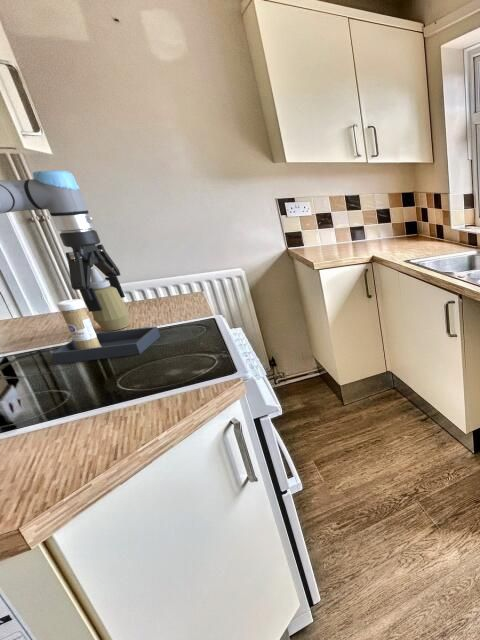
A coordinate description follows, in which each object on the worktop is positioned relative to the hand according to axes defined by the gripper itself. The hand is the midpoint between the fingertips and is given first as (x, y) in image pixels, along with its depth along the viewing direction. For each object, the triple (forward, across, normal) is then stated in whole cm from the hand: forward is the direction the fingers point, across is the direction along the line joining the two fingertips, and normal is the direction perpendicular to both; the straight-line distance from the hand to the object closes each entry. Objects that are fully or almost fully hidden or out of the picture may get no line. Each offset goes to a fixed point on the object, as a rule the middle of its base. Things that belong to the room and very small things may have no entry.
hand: (108, 304), depth 124 cm
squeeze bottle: (+8, 0, 0) cm, 8 cm away
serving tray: (+8, -20, -7) cm, 22 cm away
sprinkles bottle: (+7, -20, -2) cm, 21 cm away
